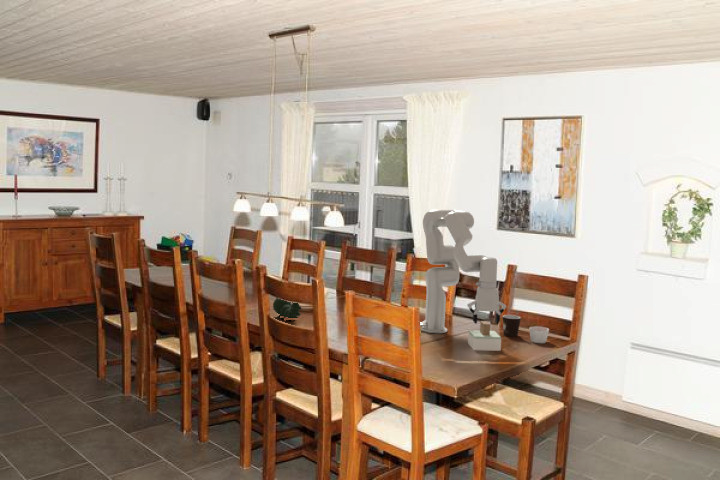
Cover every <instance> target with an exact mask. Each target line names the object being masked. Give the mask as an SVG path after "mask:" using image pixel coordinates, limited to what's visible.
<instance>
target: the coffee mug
mask: <svg viewBox="0 0 720 480" xmlns="http://www.w3.org/2000/svg"><path fill="white" fill-rule="evenodd" d="M520 324H521V316H518V315H515V314H504V315H502V328H503V336H504V337H509V338H515V337H518V335H519V329H520Z"/></svg>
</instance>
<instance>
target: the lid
mask: <svg viewBox="0 0 720 480" xmlns="http://www.w3.org/2000/svg"><path fill="white" fill-rule="evenodd" d="M479 324H480V325H479V330H475V329H474V330H472V329H471V330H470V329H468V333H470V334H471V335H472V337H473V338H474V339H501V340H502V337H501V335H500V334H499V333H497V332H496V330H491V323H489V321H487V320H486V321H485V320H484V321H482V320H480V323H479Z"/></svg>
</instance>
